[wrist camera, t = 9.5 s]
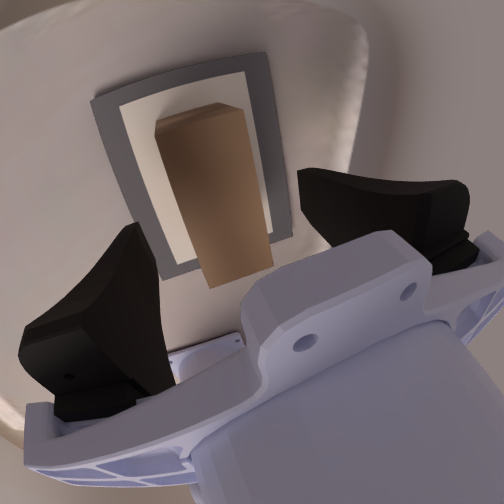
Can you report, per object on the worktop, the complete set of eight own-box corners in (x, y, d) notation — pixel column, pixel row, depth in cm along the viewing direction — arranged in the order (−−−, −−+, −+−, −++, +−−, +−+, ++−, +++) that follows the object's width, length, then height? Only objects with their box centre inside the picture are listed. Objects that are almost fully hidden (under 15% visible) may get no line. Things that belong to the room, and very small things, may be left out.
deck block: (217, 102, 14) (243, 109, 10) (245, 221, 18) (273, 266, 15) (155, 120, 13) (154, 136, 9) (195, 238, 18) (209, 288, 14)
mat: (289, 232, 21) (293, 236, 20) (162, 275, 20) (162, 281, 19) (262, 52, 13) (266, 51, 12) (92, 100, 12) (89, 101, 11)
